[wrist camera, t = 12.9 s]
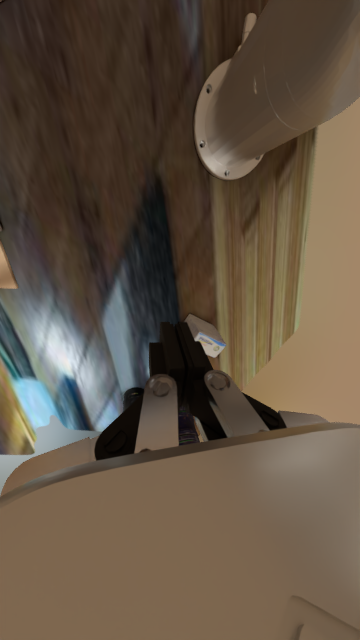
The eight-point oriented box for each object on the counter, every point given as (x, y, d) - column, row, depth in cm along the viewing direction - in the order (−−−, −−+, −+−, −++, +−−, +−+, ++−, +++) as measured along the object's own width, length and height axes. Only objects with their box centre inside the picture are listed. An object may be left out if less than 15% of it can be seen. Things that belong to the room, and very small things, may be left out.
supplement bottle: (147, 399, 56) (148, 440, 46) (125, 402, 55) (121, 444, 45) (146, 385, 53) (147, 425, 42) (123, 388, 51) (118, 430, 41)
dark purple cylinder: (187, 415, 65) (198, 463, 53) (161, 418, 63) (166, 468, 50) (193, 398, 60) (206, 446, 48) (165, 400, 58) (171, 451, 45)
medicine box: (179, 326, 44) (187, 348, 36) (189, 312, 42) (199, 332, 35) (203, 337, 47) (215, 359, 40) (213, 324, 46) (227, 345, 38)
